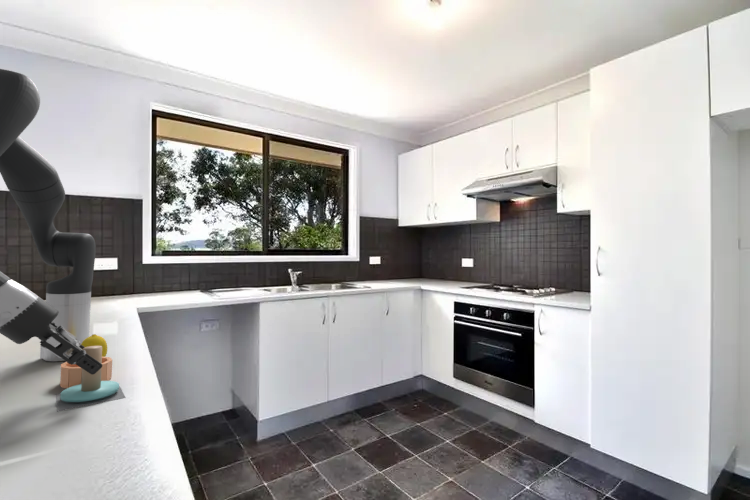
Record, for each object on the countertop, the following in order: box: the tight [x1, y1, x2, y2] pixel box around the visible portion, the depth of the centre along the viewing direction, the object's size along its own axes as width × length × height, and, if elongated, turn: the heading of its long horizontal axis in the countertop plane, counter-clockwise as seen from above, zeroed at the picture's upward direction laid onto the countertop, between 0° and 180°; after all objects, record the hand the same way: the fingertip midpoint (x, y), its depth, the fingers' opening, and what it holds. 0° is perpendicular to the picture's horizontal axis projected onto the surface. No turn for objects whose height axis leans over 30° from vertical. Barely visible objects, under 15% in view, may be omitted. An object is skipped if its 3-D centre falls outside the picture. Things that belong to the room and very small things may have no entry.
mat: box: [55, 385, 126, 413], centre depth 70 cm, size 10×10×1 cm
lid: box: [59, 346, 120, 402], centre depth 71 cm, size 9×9×9 cm
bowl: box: [59, 356, 113, 389], centre depth 78 cm, size 9×9×4 cm
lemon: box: [81, 333, 108, 357], centre depth 89 cm, size 6×6×8 cm
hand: (94, 364), depth 71 cm, fingers open, 8 cm apart
